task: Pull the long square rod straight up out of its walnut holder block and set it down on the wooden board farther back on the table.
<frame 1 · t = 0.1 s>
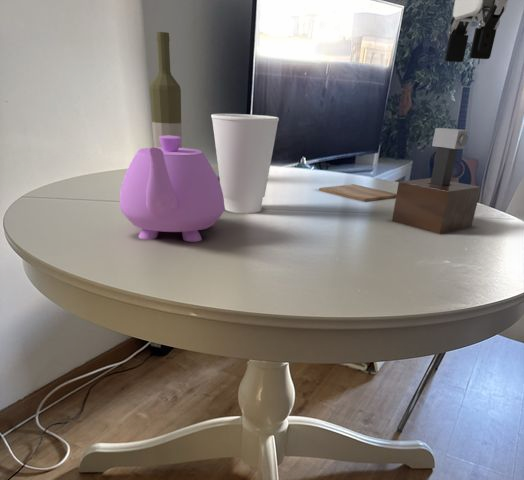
hand: (465, 60, 81), 26 cm above the table, tool pointing down, fingers open, 9 cm apart
cup: (242, 210, 91), on the table
bottle: (169, 179, 118), on the table
wooden board: (358, 193, 111), on the table
long square rod: (442, 179, 83), in the holder
holder: (431, 224, 87), on the table
teapot: (173, 234, 74), on the table
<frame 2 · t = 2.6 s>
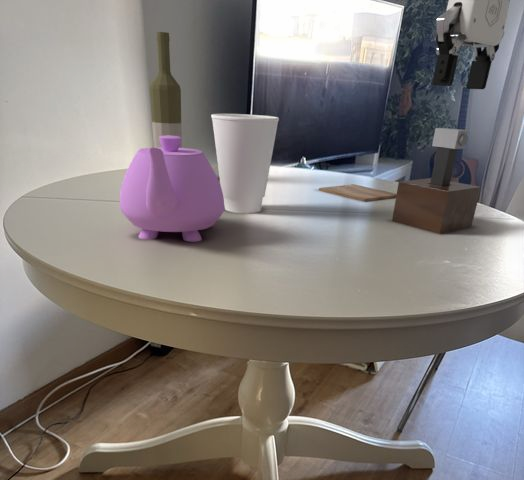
hand: (459, 87, 77), 22 cm above the table, tool pointing down, fingers open, 9 cm apart
nothing on the table moved.
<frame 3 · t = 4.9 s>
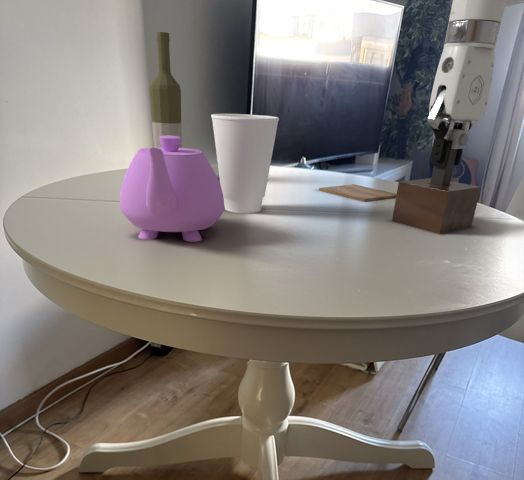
hand: (444, 163, 82), 10 cm above the table, tool pointing down, fingers closed on long square rod, 2 cm apart
long square rod: (442, 179, 83), in the holder, touching gripper
everything else where it was.
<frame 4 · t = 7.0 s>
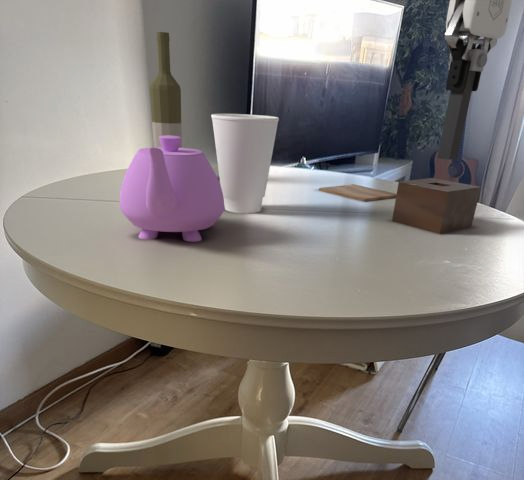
hand: (461, 89, 77), 22 cm above the table, tool pointing down, fingers closed on long square rod, 2 cm apart
long square rod: (459, 107, 78), point 19 cm above the table, touching gripper
everything else where it was.
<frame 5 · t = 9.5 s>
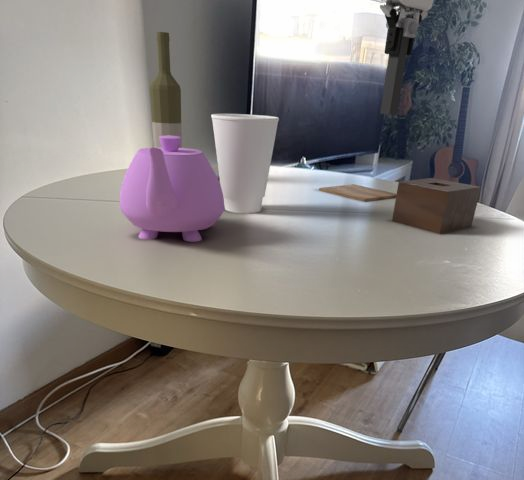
hand: (397, 53, 91), 27 cm above the table, tool pointing down, fingers closed on long square rod, 2 cm apart
long square rod: (396, 68, 92), point 25 cm above the table, touching gripper
everything else where it was.
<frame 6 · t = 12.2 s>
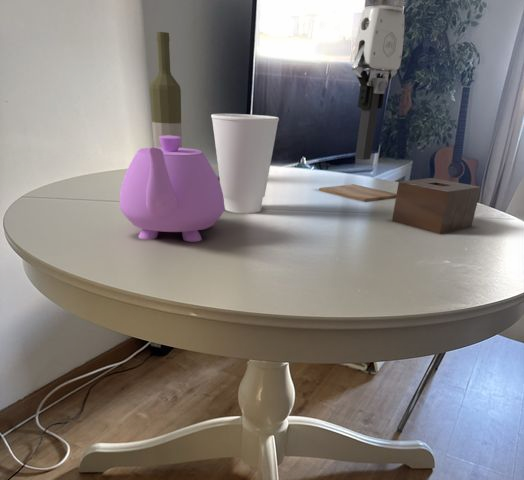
hand: (369, 107, 102), 18 cm above the table, tool pointing down, fingers closed on long square rod, 2 cm apart
long square rod: (369, 120, 103), point 16 cm above the table, touching gripper
everything else where it was.
when the fingers open (11 cm above the table, at t = 14.2 s): long square rod stays where it is, resting on wooden board.
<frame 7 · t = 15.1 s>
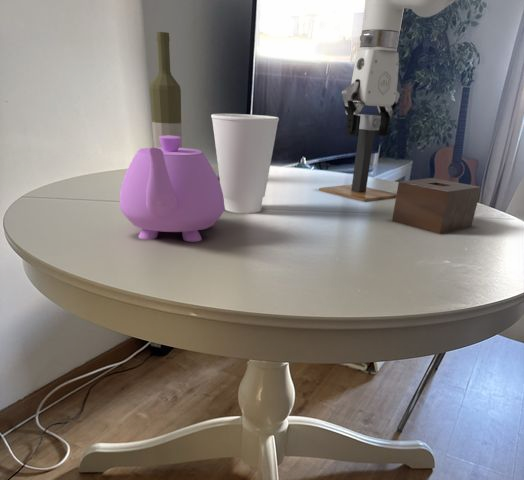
hand: (366, 135, 105), 12 cm above the table, tool pointing down, fingers open, 9 cm apart
long square rod: (364, 154, 107), on the wooden board, point 8 cm above the table
everything else where it was.
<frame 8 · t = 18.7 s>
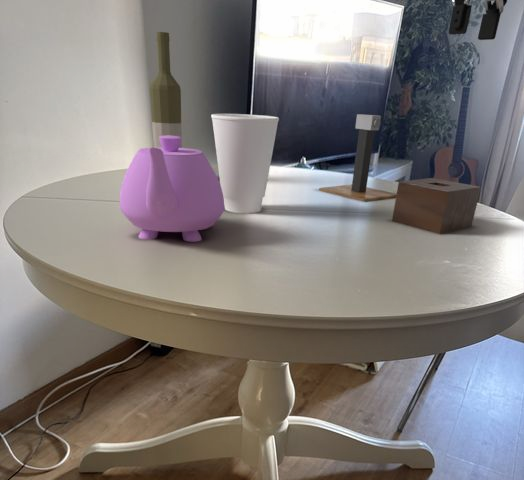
hand: (471, 36, 87), 30 cm above the table, tool pointing down, fingers open, 9 cm apart
nothing on the table moved.
at the end: long square rod inside the target area on the wooden board (0.0 cm from its centre), point 8.5 cm above the wooden board's base; long square rod touching wooden board; the gripper is holding nothing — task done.
